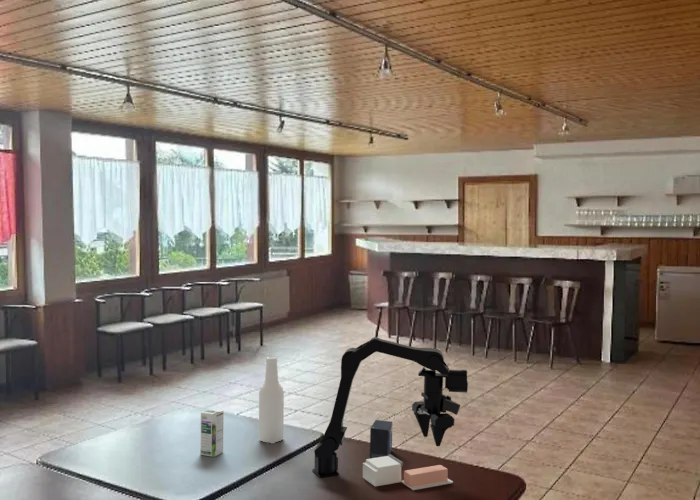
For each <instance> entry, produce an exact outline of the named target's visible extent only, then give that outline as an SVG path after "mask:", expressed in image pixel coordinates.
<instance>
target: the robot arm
mask: <svg viewBox="0 0 700 500" xmlns="http://www.w3.org/2000/svg"><path fill="white" fill-rule="evenodd" d="M374 353H375V354H376V353H381V354H385V355H388V356H393V357H396V358H401V359H404V360H408V361H412V362H414V363H416V364H418V365H420V366H421V367H422V368H421V370H419V371H418V373H417V374H418V377H423V392H421V394H420V395H421V397H422V398H423V400H422V401H414V402H413V403H412V406H411V412H412V411H413V415H414V417H415V419H416V421H417V424H418V426H419V428H420V430H421V433H422V436H423V437H424V438H428V436H429V429H430V430H431V432H432V436H433V440H434V444H435V446H436V447H440V446H441V444H442V441H443V438H444V436H445V433H446V431H447V430H448V429H450V428H452V427H455V418H454V417H453V415H450V414H449V413H447V412H450V413H452V414H454V415H458V413H459V410H460V407H461V404H460V403H458V402H456V401H454V400H452V397H451V396H449V395H448V394H443V391H444V388H445V389H447V390H448V392H449V393H450V392H451V393H466V394H467V393H468V388H469V387H468V386H469V385H468V384H469V382H468V370H467V369H450V367H449V365H447V363H446V362H445V360H444V359H445V358H444V354H443V352H442V351H441V350H440V349H439V348H435V347H434V348H433V347H415V346H410V345H406V344H401V343H398V342H394V341H391V340H386V339H382V338H381V337H378V336H374V337H372V338H371V339H369V340H367V341H366V342H364V343H362V344H360V345H359V346H356V347H350V348H348V349H346V351H345V352H344V353H343V354H342V356H341V362H340V382H339V384H338V389H337V393H336V397H335V402H334V404H333V405H334V406H333V409H332V413H331V419H330V421H329V423H328V426H327V428H326V430H325V432H324V434H323V437H322V438H321V440H319V442H318V444H317V445H316V447H315V449H314V468H312V472H313V473H314V474H315V475H316V476H317V477H319V478H325V477H330V476H331V477H332V476H338V475H340V474H339V471H338V470H339V457H338V456H337V455H338V453H337V452H336V451H337V450H339V448H340V446H343V443H344V441H345V435H346V432H347V429H348V426H344V418H345V414H346V410H347V406H348V403H349V398H350V394H351V389H352V386H353V381H354V378H355V376H356V374H357V372H358V370H359V367H360V365H361V363H362V361H364V360H365V359H367V358H369V357H370V356H372V354H374ZM444 379H445V380H444Z"/></svg>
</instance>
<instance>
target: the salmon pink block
mask: <svg viewBox="0 0 700 500" xmlns="http://www.w3.org/2000/svg"><path fill="white" fill-rule="evenodd" d="M448 470H449V469H448V468H447V467H445V466H444V465H441V464H437V465H431V466H424V467H419V468H413V469H407V470H403V480H404V483H405V484H407V485H408V486H410V487H413V486H419V485H425V484H430V483H436V482H441V481H447V480H448V479H449V478H448V475H449V474H448V473H449V472H448ZM405 484H404V485H405ZM408 486H407V487H408Z"/></svg>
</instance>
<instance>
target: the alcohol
mask: <svg viewBox="0 0 700 500" xmlns="http://www.w3.org/2000/svg"><path fill="white" fill-rule="evenodd" d="M265 367H266V368H265V379H264V383H263V384H262V385H261V387H260V389H259V392H258V409H259V410H258V439H259V442H261V441H263V442H278V441H281V440H282V441H283V439H284V420H285V419H284V416H285V415H284V412H285V411H284V408H285V407H284V404H285V403H284V401H285V396H284V393H285V391H284V388H283V386H282V385H281V384H280V382H279V381H280V380H279V376H278V375H279V374H278V357H276V356H267V357H266V365H265ZM282 441H281V442H282ZM263 442H262V443H263ZM278 443H279V442H278Z"/></svg>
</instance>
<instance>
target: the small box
mask: <svg viewBox="0 0 700 500" xmlns="http://www.w3.org/2000/svg"><path fill="white" fill-rule="evenodd" d="M369 429H370V434H369V435H370V436H369V457H368V459H371V458H377V457H384V456H388V455H389V454H391V453H392V451H393V421H390V420H388V421H387V420H380V419H375V420H374V422H373V424H372V425H371V427H370V428H369Z"/></svg>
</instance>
